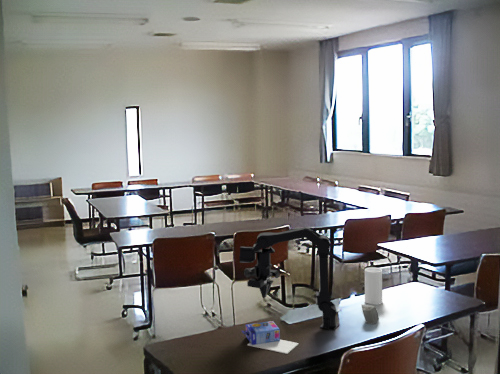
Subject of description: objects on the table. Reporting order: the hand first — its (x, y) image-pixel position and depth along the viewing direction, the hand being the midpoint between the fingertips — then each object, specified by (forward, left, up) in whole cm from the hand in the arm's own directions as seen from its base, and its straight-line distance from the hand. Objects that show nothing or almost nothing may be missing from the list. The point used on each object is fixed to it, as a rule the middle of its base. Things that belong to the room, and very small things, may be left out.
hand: (264, 297), depth 230 cm
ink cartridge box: (+7, +10, -10) cm, 16 cm away
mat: (+14, +12, -13) cm, 23 cm away
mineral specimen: (-25, +39, -14) cm, 48 cm away
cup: (-51, +32, -14) cm, 61 cm away
